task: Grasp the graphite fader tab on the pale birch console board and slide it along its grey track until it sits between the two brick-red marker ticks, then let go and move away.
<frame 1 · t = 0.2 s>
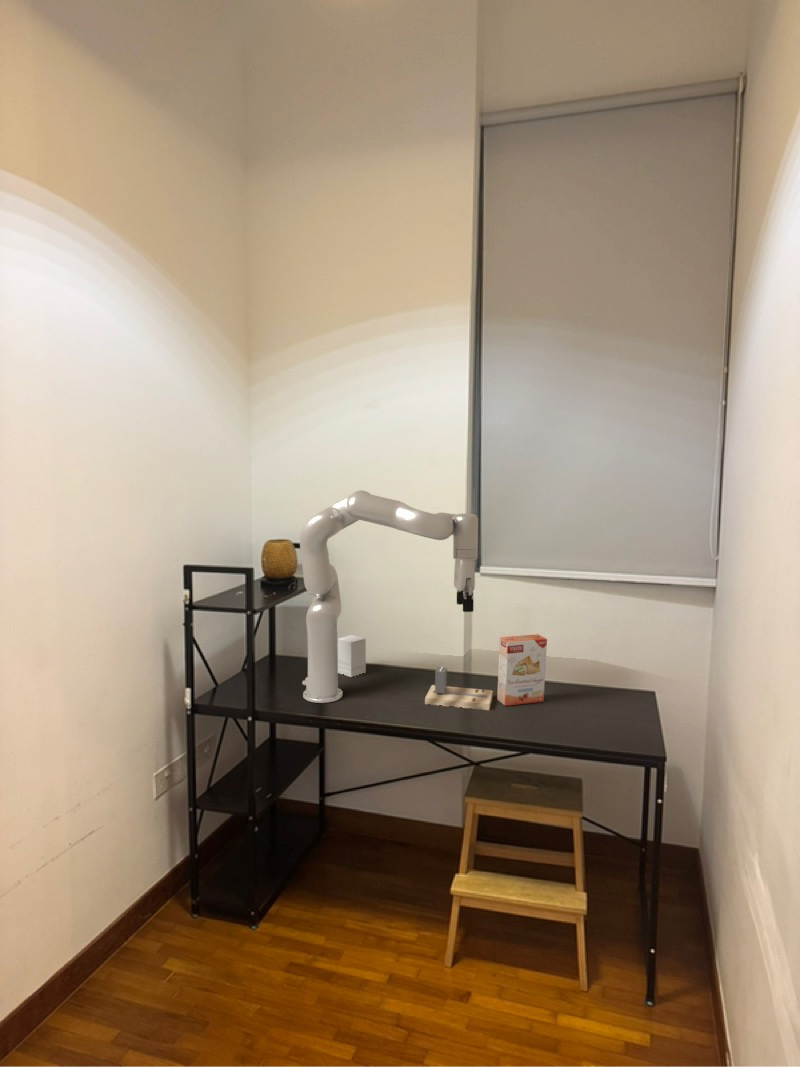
hand: (464, 607, 215), 30 cm above the table, tool pointing down, fingers open, 9 cm apart
fader tab: (441, 679, 219), point 6 cm above the table, slide at -6.0 cm
cracker box: (520, 701, 219), on the table
supplement box: (351, 673, 244), on the table
console board: (459, 700, 219), on the table
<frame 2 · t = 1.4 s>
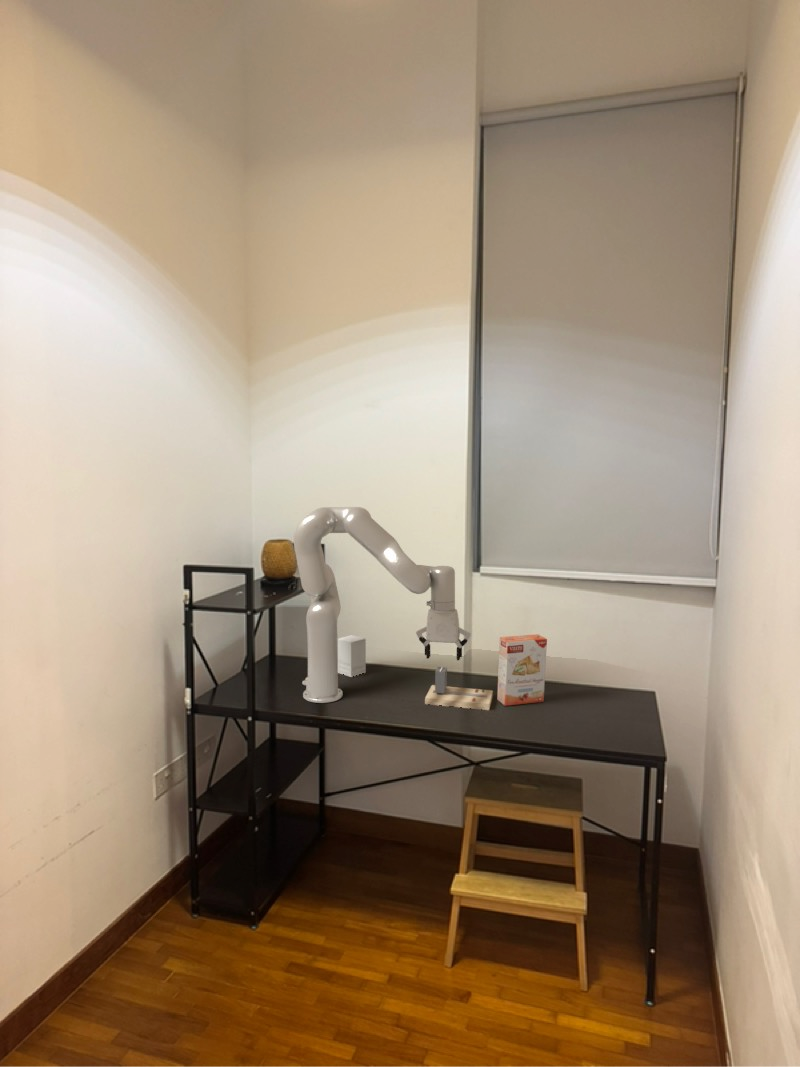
hand: (443, 658, 219), 13 cm above the table, tool pointing down, fingers open, 9 cm apart
nothing on the table moved.
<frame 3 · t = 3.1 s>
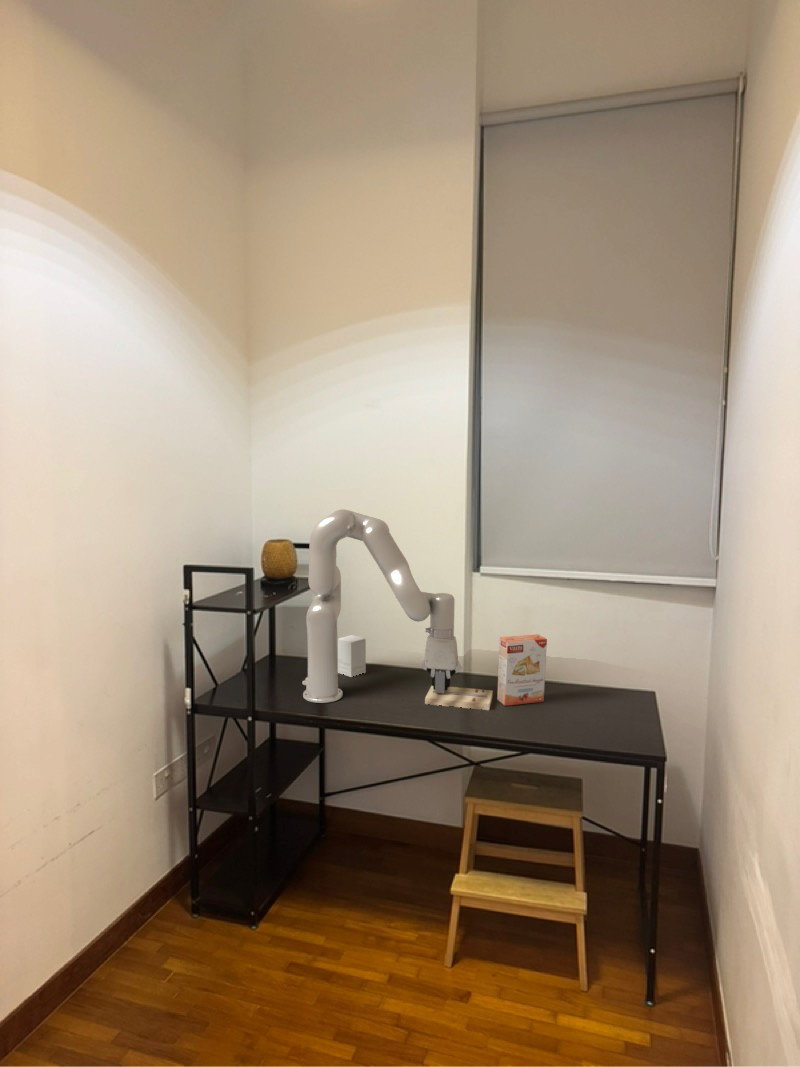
hand: (440, 688, 220), 3 cm above the table, tool pointing down, fingers closed on fader tab, 3 cm apart
fader tab: (441, 679, 219), point 6 cm above the table, slide at -6.0 cm, touching gripper
everything else where it was.
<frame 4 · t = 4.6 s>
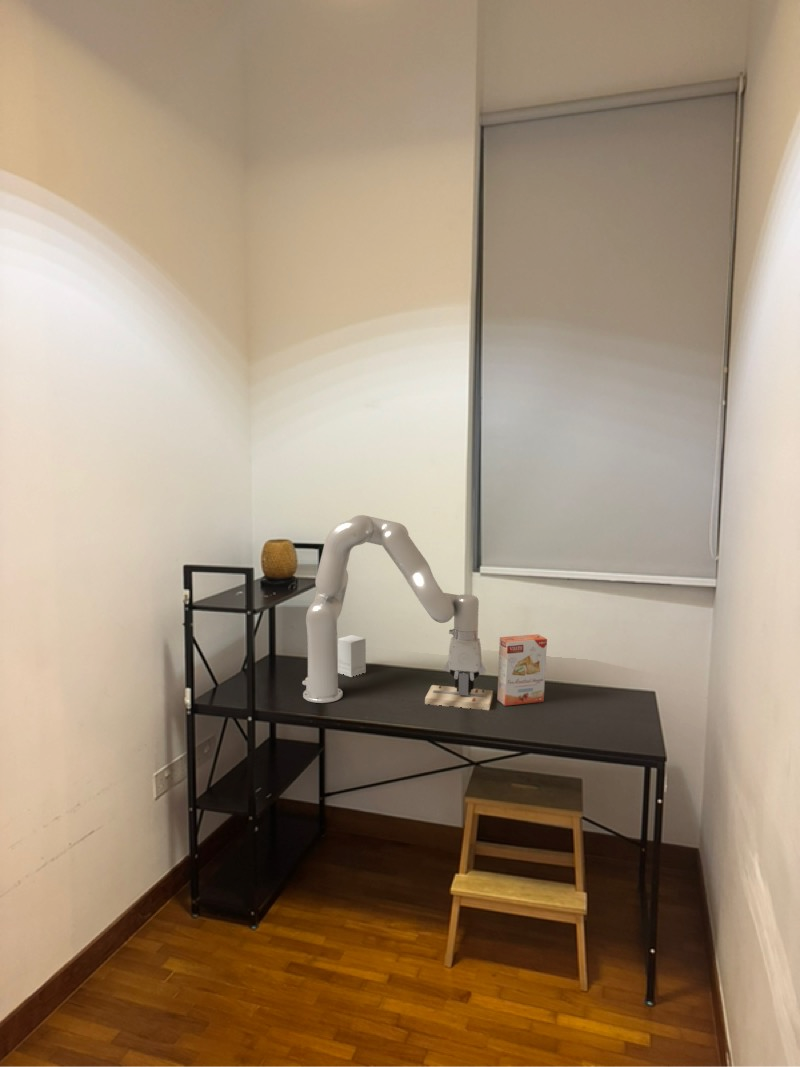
hand: (464, 690, 218), 3 cm above the table, tool pointing down, fingers closed on fader tab, 3 cm apart
fader tab: (464, 681, 218), point 6 cm above the table, slide at 1.5 cm, touching gripper
everything else where it was.
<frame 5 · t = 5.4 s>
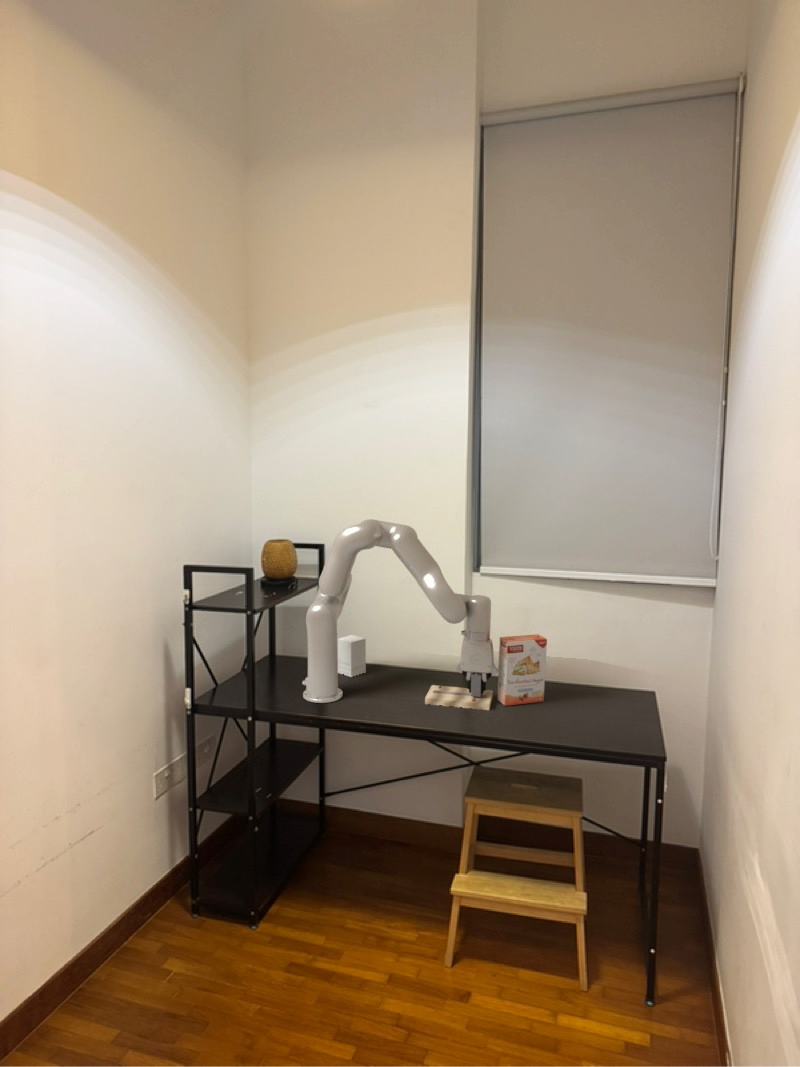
hand: (476, 691, 217), 3 cm above the table, tool pointing down, fingers closed on fader tab, 3 cm apart
fader tab: (476, 682, 217), point 6 cm above the table, slide at 5.3 cm, touching gripper
everything else where it was.
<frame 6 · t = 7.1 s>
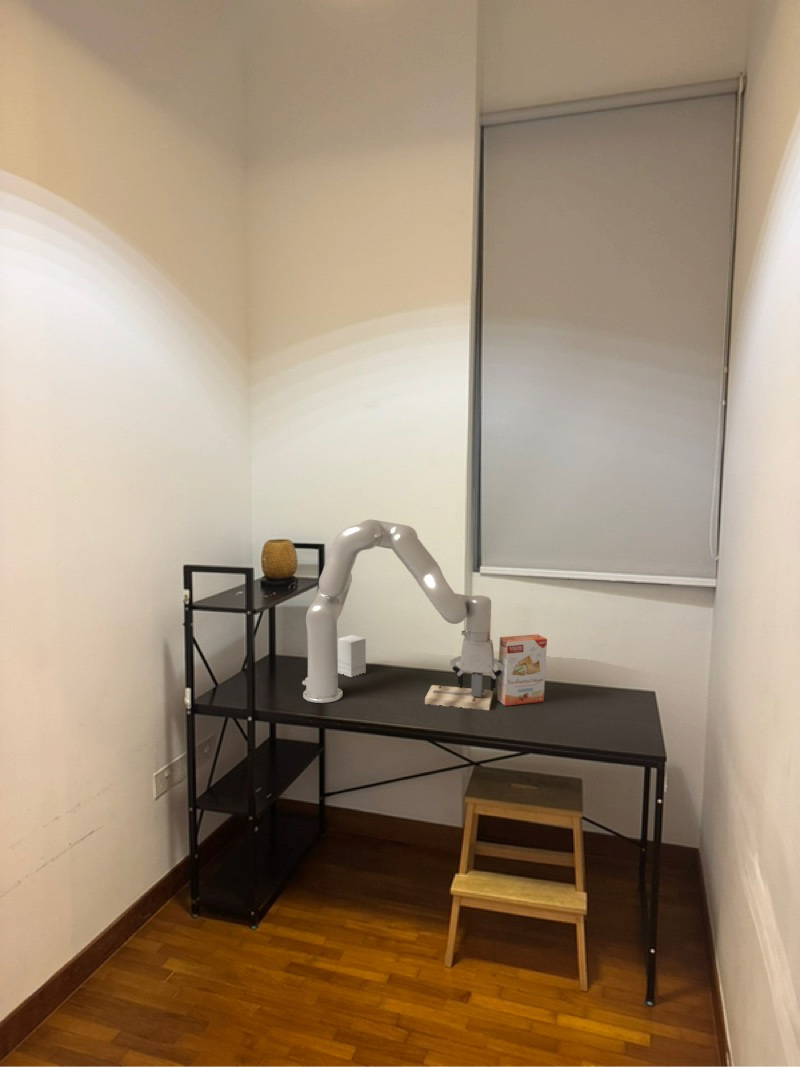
hand: (476, 688, 217), 4 cm above the table, tool pointing down, fingers open, 9 cm apart
fader tab: (477, 682, 217), point 6 cm above the table, slide at 5.5 cm
cracker box: (520, 701, 219), on the table, touching gripper
everything else where it was.
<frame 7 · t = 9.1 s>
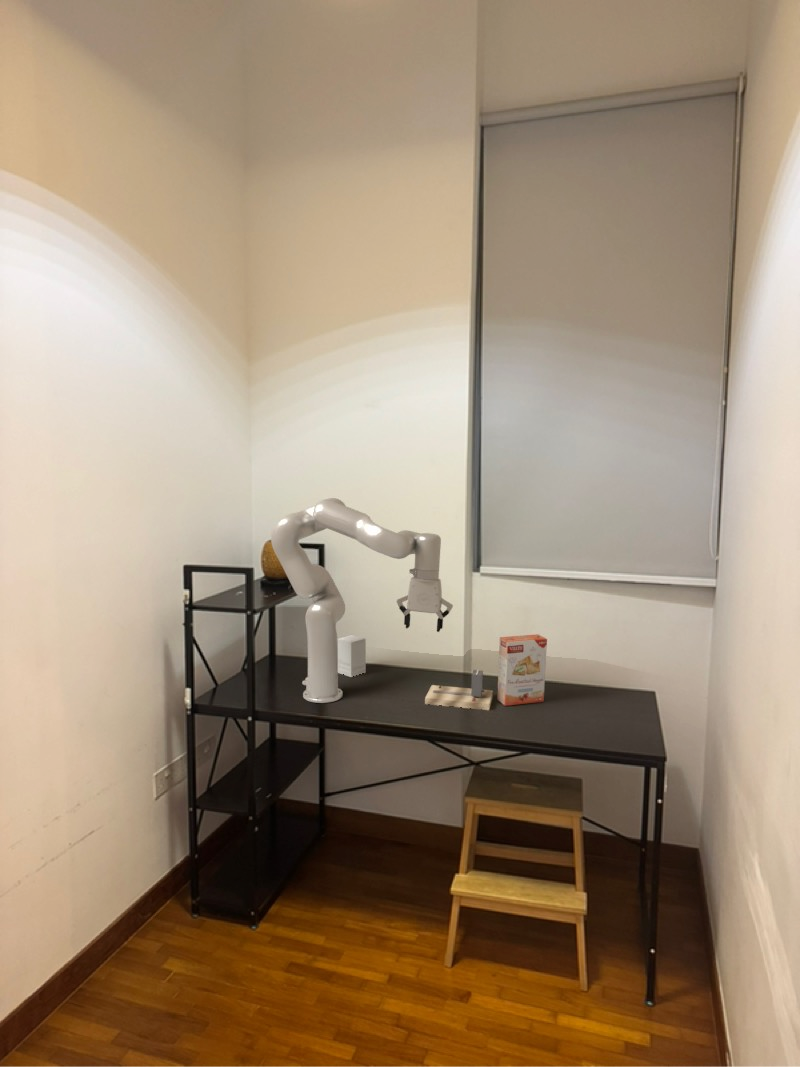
hand: (423, 629, 211), 24 cm above the table, tool pointing down, fingers open, 9 cm apart
cracker box: (520, 701, 219), on the table
everything else where it was.
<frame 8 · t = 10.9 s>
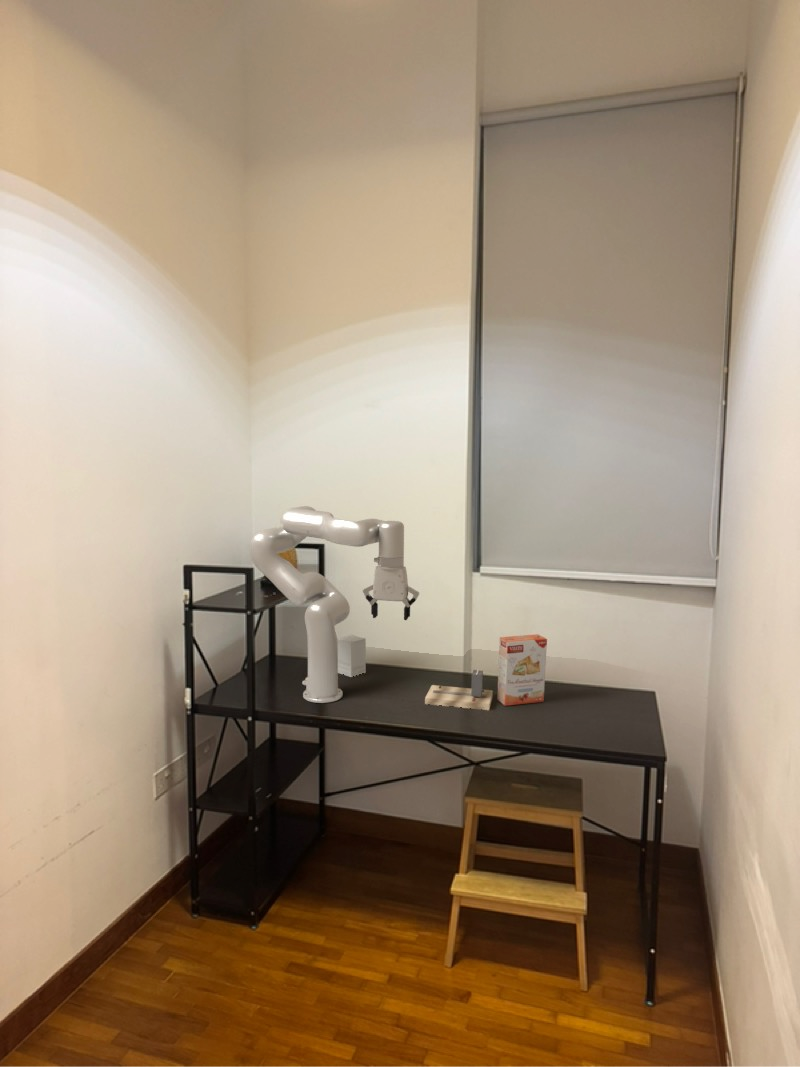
hand: (390, 618, 208), 28 cm above the table, tool pointing down, fingers open, 9 cm apart
nothing on the table moved.
at the end: fader tab slide at 5.5 cm; the gripper is holding nothing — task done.
